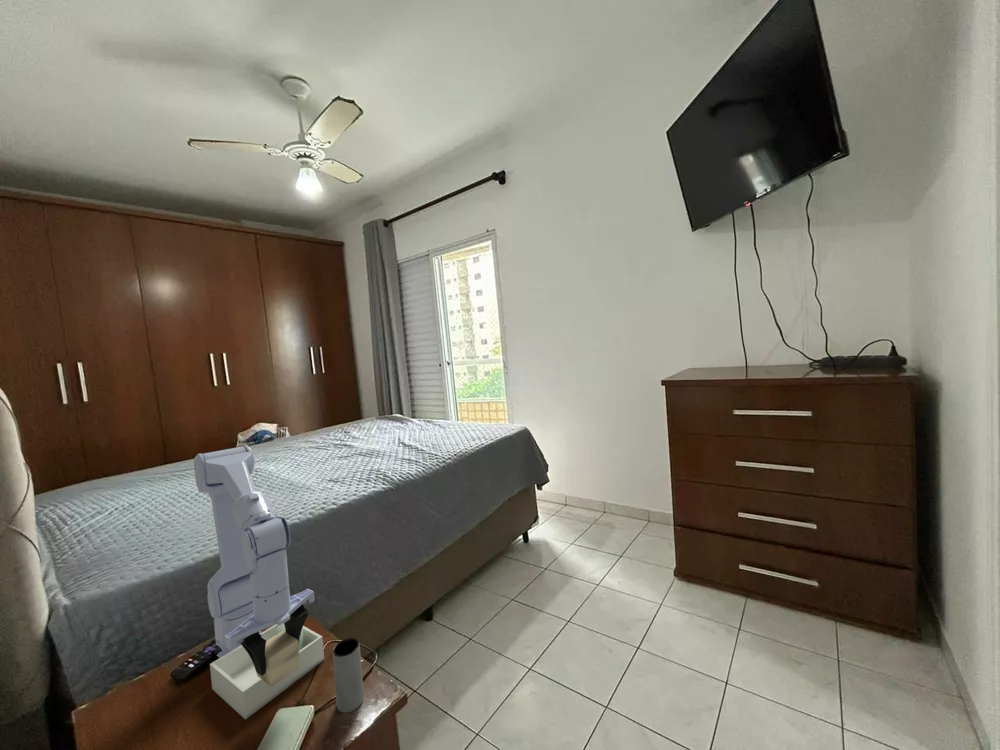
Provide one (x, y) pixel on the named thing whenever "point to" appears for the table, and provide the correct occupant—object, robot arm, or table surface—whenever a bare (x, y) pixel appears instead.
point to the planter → (348, 674)
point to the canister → (282, 628)
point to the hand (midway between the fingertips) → (277, 661)
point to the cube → (280, 658)
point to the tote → (243, 685)
